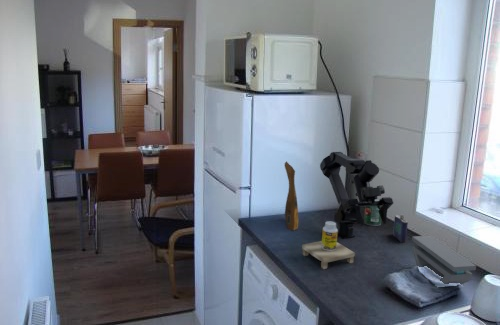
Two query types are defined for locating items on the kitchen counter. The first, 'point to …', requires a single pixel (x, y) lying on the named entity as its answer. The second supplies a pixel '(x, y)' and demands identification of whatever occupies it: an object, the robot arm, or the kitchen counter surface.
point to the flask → (400, 228)
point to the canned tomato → (372, 215)
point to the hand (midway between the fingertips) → (374, 224)
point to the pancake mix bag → (291, 201)
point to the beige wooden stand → (328, 253)
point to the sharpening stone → (442, 260)
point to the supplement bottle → (329, 236)
